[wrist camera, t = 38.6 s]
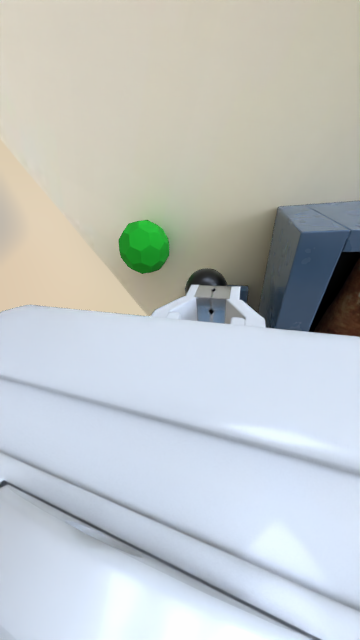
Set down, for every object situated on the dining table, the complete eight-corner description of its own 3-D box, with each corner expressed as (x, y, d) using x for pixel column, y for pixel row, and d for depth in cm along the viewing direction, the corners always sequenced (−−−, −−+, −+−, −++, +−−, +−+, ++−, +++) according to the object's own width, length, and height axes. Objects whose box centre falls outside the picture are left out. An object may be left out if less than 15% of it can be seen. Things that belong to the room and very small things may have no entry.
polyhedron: (167, 210, 18) (148, 220, 15) (180, 259, 21) (166, 277, 17) (126, 222, 20) (99, 233, 16) (142, 265, 23) (122, 283, 19)
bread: (270, 383, 26) (274, 425, 21) (348, 237, 14) (393, 266, 10) (321, 395, 24) (336, 442, 20) (457, 245, 12) (564, 281, 8)
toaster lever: (191, 269, 16) (181, 266, 13) (229, 269, 15) (228, 267, 12) (186, 393, 19) (177, 414, 16) (219, 399, 18) (215, 424, 15)
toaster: (495, 190, 12) (808, 213, 5) (341, 393, 27) (373, 469, 20) (277, 206, 16) (301, 231, 9) (245, 377, 30) (245, 437, 23)
